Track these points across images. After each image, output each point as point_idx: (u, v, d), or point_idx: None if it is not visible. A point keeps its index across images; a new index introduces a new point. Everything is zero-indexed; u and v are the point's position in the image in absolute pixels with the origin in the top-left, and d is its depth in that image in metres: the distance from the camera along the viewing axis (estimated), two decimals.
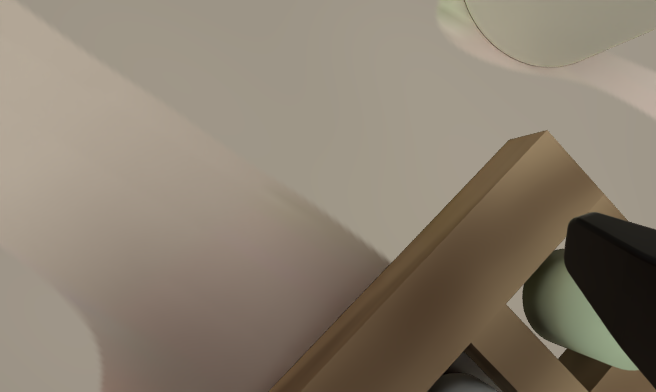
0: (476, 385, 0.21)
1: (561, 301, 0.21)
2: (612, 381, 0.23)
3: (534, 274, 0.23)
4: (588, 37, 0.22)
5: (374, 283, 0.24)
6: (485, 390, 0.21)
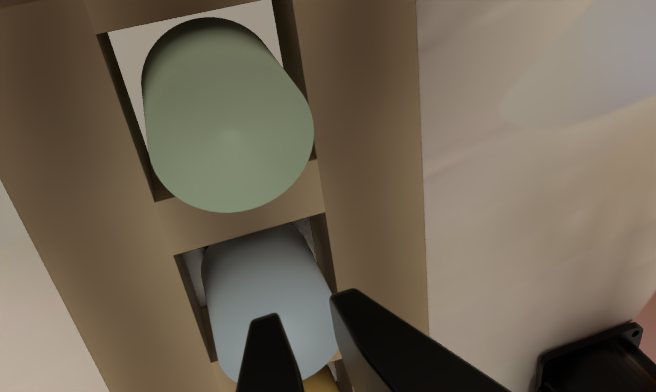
0: (218, 272, 0.19)
1: None
2: (326, 127, 0.17)
3: None
4: None
5: None
6: (222, 283, 0.18)
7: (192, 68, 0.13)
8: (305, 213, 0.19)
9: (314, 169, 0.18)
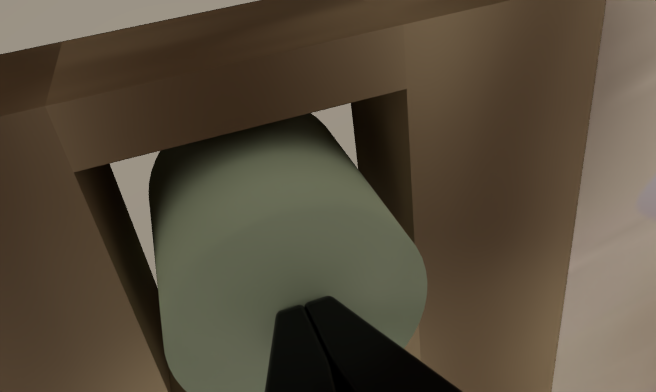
0: None
1: None
2: (437, 275, 0.11)
3: None
4: None
5: None
6: None
7: (241, 221, 0.07)
8: None
9: None
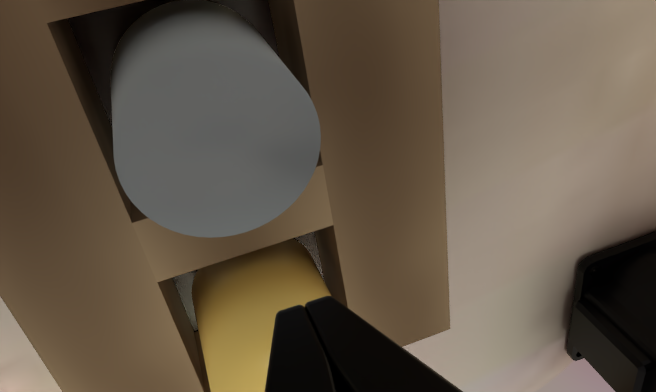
0: (124, 59, 0.12)
1: None
2: None
3: None
4: None
5: None
6: (127, 66, 0.11)
7: None
8: None
9: None
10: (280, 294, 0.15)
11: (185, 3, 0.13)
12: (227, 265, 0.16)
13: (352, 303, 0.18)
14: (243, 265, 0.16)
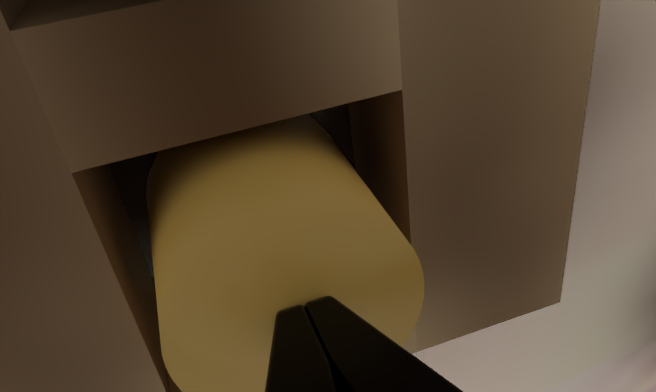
0: None
1: None
2: None
3: None
4: None
5: None
6: None
7: None
8: None
9: None
10: (291, 169, 0.08)
11: None
12: None
13: (419, 246, 0.11)
14: (228, 134, 0.10)
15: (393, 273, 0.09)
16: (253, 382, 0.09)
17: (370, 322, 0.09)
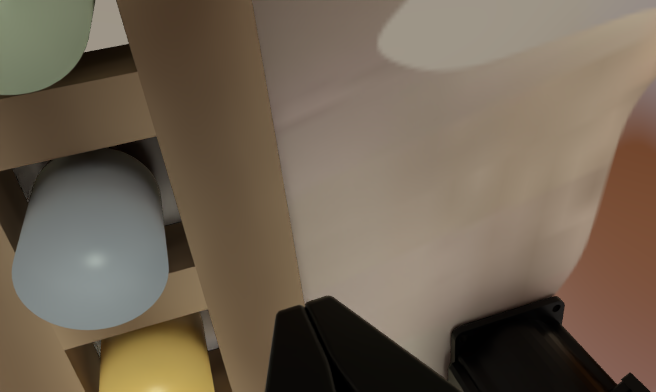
0: (33, 199, 0.17)
1: None
2: (143, 33, 0.16)
3: None
4: None
5: None
6: (31, 208, 0.16)
7: None
8: (131, 136, 0.17)
9: (135, 83, 0.16)
10: (155, 345, 0.20)
11: (86, 152, 0.18)
12: None
13: (229, 367, 0.23)
14: None
15: (198, 388, 0.20)
16: None
17: None
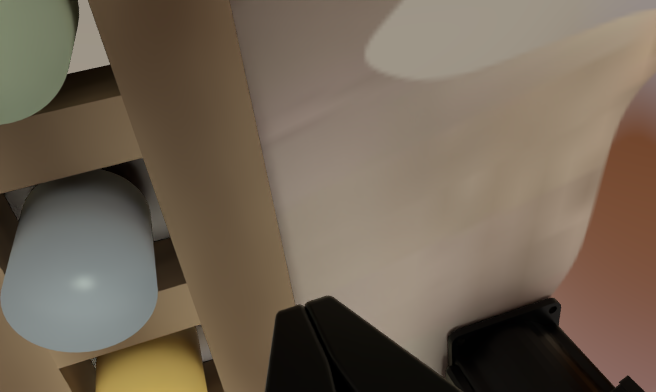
0: (21, 223, 0.17)
1: None
2: (125, 57, 0.15)
3: None
4: None
5: None
6: (19, 234, 0.16)
7: None
8: (118, 159, 0.17)
9: (119, 107, 0.16)
10: (150, 361, 0.20)
11: None
12: None
13: (224, 380, 0.23)
14: None
15: None
16: None
17: None
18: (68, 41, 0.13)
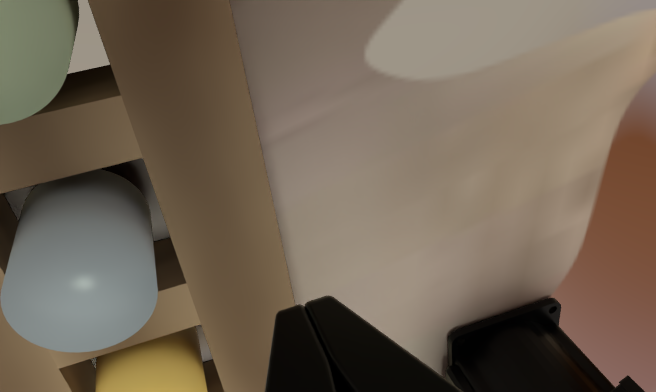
0: (21, 223, 0.17)
1: None
2: (125, 57, 0.15)
3: None
4: None
5: None
6: (19, 234, 0.16)
7: None
8: (118, 159, 0.17)
9: (119, 107, 0.16)
10: (150, 361, 0.20)
11: None
12: None
13: (224, 380, 0.23)
14: None
15: None
16: None
17: None
18: (68, 41, 0.13)
